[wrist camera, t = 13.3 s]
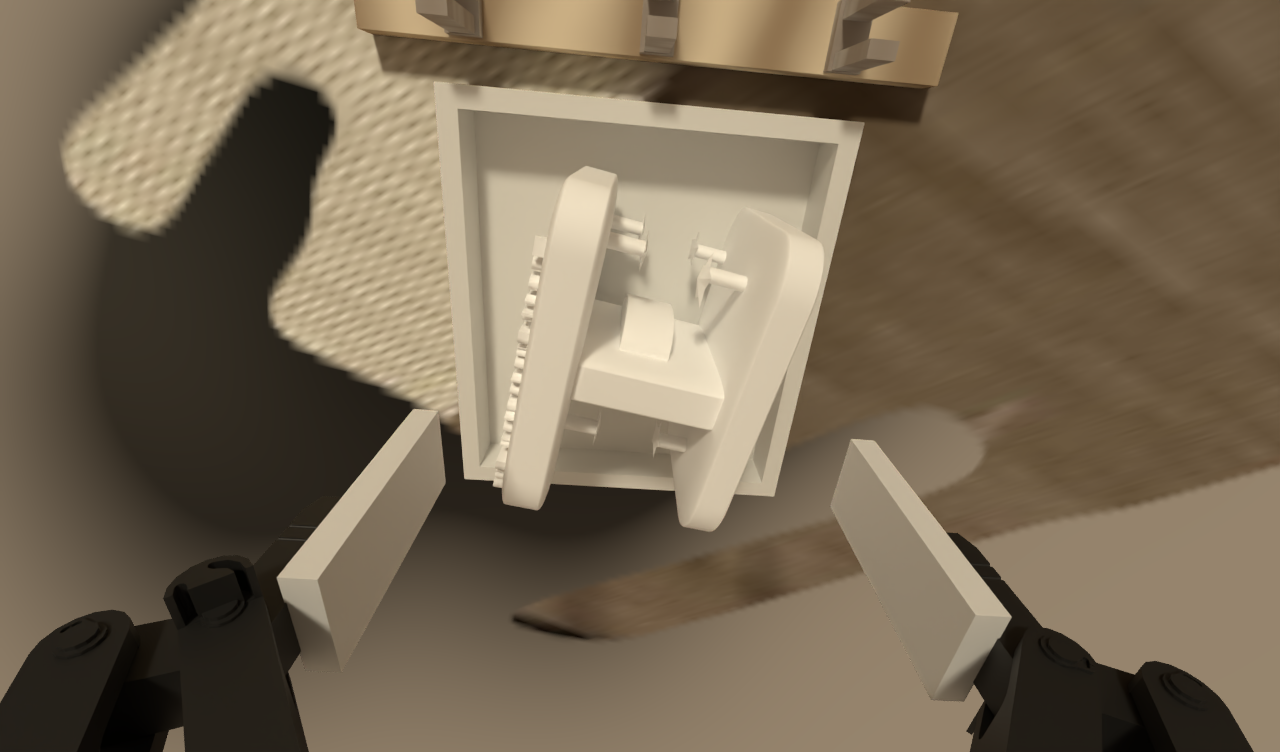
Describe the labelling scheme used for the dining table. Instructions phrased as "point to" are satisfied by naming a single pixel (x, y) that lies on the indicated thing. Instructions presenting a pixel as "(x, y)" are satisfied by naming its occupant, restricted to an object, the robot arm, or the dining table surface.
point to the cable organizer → (654, 348)
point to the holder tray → (675, 213)
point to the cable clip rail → (696, 33)
